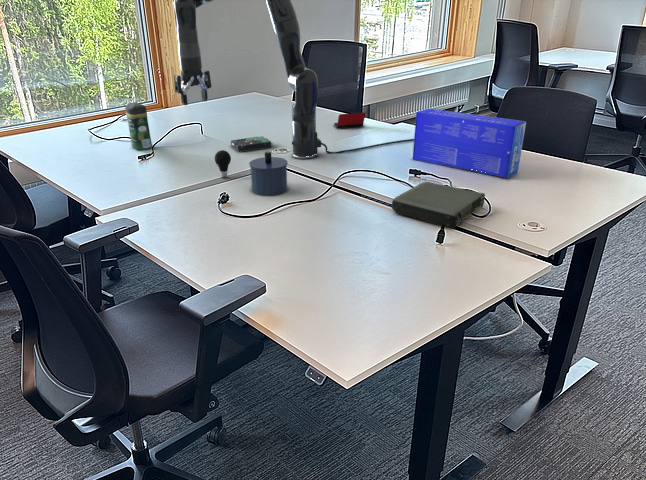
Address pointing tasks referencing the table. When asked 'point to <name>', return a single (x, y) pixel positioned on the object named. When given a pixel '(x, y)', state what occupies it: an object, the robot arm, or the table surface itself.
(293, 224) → the table surface
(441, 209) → the network switch
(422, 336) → the table surface
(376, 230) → the table surface
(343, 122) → the handheld console
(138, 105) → the coffee jar
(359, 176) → the table surface
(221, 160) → the light bulb
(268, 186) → the pot
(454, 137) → the blue cardboard box
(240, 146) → the disk drive
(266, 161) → the pot lid
